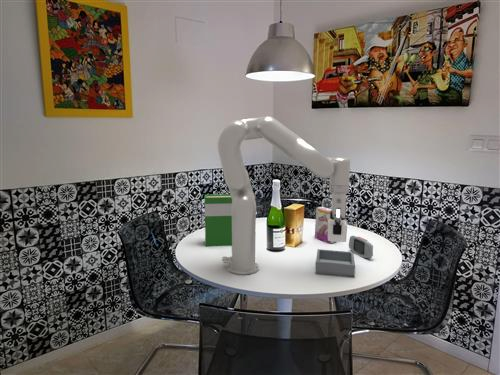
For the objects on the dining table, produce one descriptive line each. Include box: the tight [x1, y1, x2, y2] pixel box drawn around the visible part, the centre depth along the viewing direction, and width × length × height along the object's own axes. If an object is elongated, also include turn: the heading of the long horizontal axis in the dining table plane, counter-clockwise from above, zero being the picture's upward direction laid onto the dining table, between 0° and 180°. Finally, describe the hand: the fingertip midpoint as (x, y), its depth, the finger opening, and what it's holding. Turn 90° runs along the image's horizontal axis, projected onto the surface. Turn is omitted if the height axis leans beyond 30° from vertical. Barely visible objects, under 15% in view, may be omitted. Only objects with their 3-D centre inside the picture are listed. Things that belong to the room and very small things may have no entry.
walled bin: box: [315, 248, 356, 279], centre depth 151 cm, size 15×15×5 cm
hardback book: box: [204, 193, 232, 247], centre depth 179 cm, size 18×7×24 cm, turn 97°
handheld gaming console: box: [348, 235, 374, 259], centre depth 166 cm, size 14×3×8 cm, turn 24°
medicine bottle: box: [328, 209, 348, 243], centre depth 148 cm, size 7×7×12 cm
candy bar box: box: [314, 206, 337, 245], centre depth 185 cm, size 11×5×16 cm, turn 34°
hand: (336, 231), depth 149 cm, fingers closed on medicine bottle, 7 cm apart
